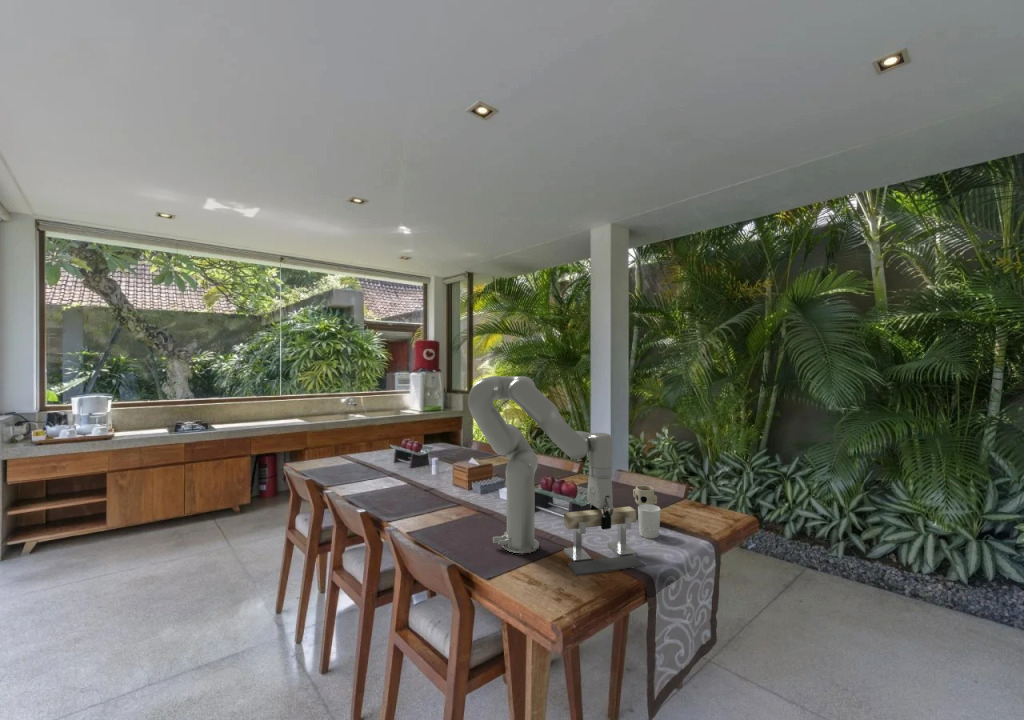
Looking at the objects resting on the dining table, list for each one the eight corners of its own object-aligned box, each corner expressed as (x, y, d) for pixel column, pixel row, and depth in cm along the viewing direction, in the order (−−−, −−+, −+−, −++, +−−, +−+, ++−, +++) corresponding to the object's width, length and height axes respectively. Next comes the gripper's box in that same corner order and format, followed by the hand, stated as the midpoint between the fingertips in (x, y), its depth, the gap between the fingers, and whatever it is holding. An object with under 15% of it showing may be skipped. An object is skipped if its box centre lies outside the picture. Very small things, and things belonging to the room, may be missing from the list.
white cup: (648, 541, 164) (648, 512, 164) (633, 533, 171) (633, 506, 171) (664, 536, 168) (665, 509, 168) (649, 529, 175) (649, 502, 175)
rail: (568, 529, 149) (568, 517, 149) (563, 524, 153) (563, 512, 153) (635, 522, 155) (636, 510, 155) (629, 518, 159) (629, 506, 159)
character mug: (627, 518, 186) (627, 486, 186) (638, 514, 190) (638, 482, 190) (650, 526, 177) (651, 492, 177) (661, 522, 182) (662, 489, 181)
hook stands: (574, 563, 147) (574, 524, 147) (563, 551, 156) (563, 514, 155) (636, 555, 153) (637, 517, 152) (623, 544, 162) (623, 508, 161)
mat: (576, 575, 139) (576, 573, 139) (567, 565, 146) (567, 563, 146) (644, 566, 145) (644, 564, 145) (633, 556, 152) (633, 554, 152)
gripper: (579, 465, 161) (579, 515, 161) (601, 479, 144) (601, 535, 145) (599, 463, 163) (599, 513, 163) (623, 477, 146) (623, 532, 147)
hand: (600, 523), depth 154 cm, fingers open, 7 cm apart
